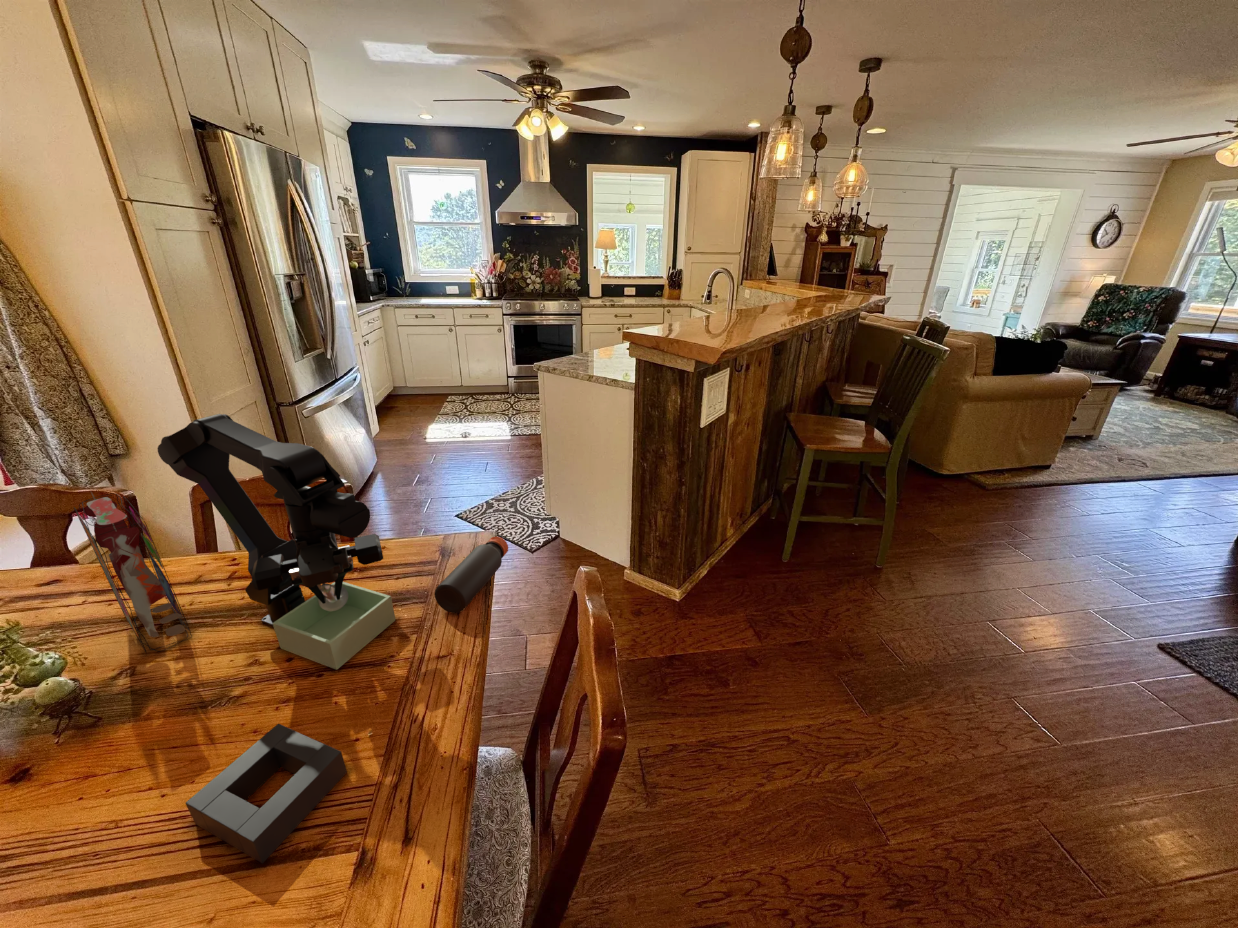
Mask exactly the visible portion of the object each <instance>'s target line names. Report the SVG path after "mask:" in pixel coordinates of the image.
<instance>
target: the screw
mask: <svg viewBox="0 0 1238 928" xmlns="http://www.w3.org/2000/svg"><path fill="white" fill-rule="evenodd" d="M331 584H332V583H323V584H321V588H322V593H323V595H324V596H325V600H326V603H325V604H323V603H322V602H321V601H320V600H319V599H318V602H319V605H320V606H321V608H322V609H324V610H326V611H336V610H339V609H341V608H342V607H343V606H344V605H345V604H346V602H347V600H348V592H347V590H346V589H345V588H344V587H343V586H342V589H341V595H340V600H337V598H336V593H335V584H334V585H331Z"/></svg>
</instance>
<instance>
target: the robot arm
mask: <svg viewBox="0 0 1238 928" xmlns="http://www.w3.org/2000/svg"><path fill="white" fill-rule="evenodd" d="M157 454H158V456H159V458H160V459H161V461H162V462H163V463H165V464H166V465H168V466H169V467H170V468H171V469H172V471H173V472H174V473H175V475H177V476H179V477H181V478H184V479H186V480H188V481H190V482H193V483H195V484H197V485H198V486H199V487H200V489H201V490H202V491H203V492H204V494H205V496H206V497H207V498H208V499H209V500H210V502H211V503H212V504H213V506H214V508H215V509H216V510H217V511H218V513H219V514H220V516H221V517H222V519H223V520H224V521H225V523H226V524H227V525H228V527H229V528H230V530H231V531H232V532H233V534H234V535H235V536H236V537H237V539H238V540H239V542H240V543H241V545H242V546H243V547H244V548H245V550H246V551H247V552H248V557H247V558H248V561H247V562H248V563H247V571H248V573H249V575H250V577H251V581H250V582H249V584H248V585H247V586H246V588H245V589H244V590H245V593H246V594H247V596H248V598H249V599H250V600H251V601H253V602H257V603H259V604H262V605H264V606H265V607H266V610H267V613H268V614H267V615H265V616H264V617H262V618H261V619H260V620H261V623H262V624H266V625H269V626H271V627H273V624H272V623H274V622H275V621H277V620H278V619H280V618H281V617H283V616H284V615H286V614H287V613H289V612H290V611H292V610H293V609H295V608H296V607H298V606H299V605H301V604H302V603H304V602H305V601H306V599H305V596H304V593H303V590H302V587H301V585H302V586H304V587H305V588H307V589H308V590H309V591H311V593H313V595H315V596H316V597H317V598H318V599H319V600H320V601H321V602H322V603H323V604H325V603H326V600H325V596H324V595H323V593H322V588H321V585H322V584H323V583H326V584H331V583H334V582H335V593H336V598H337V600H340V595H341V589H342V584H343V582H344V580H345V577H346V575H347V574H348V573H350V572H353V571H354V570H355V566H354V558H356V559H357V563H358V564H361V565H363V566H366V565H370V564H373V563H379V562H381V561H382V560H384V555H383V554H384V553H383V549H382V545H381V544H382V543H381V540H380V536H379V535H378V534H376V533H371V534H366V535H361V534H363V533H364V531H366V530H367V528H368V525H369V524H370V521H371V511H370V508H369V507H368V506H367V505H366V504H365V502H362V501H358V500H356V496H355V494H353V493H349V492H348V493H347V492H344V493H343V492H340V491H338V490H340V489H342V488H345V483H344V481H343V480H342V479H341V474H340V473H338V471H337V470H336V469H335V468H334V467H333V466H332V465H331V464H330V463H329V461H328V460H327V459H326V456H324V455H323V453H321V452H320V451H319V450H318V449H316V448H315V447H312V446H310V445H306V444H302V443H299V442H280V441H276V440H275V439H272V438H270V437H268V436H266V435H264V434H262V433H259V432H257V431H255V430H253V429H251V428H250V427H247V426H245V425H243V424H241V423H238V422H236V421H234V420H233V418H232V417H231V416H230V415H228V414H225V413H222V414H221V413H217V414H213V415H209V416H205V417H200V418H197V419H193V421H191V422H189V423H188V424H187V425H186V426H185V427H184V428H181V429H179V430H177V431H176V432H174V433H172V434H169V435H165V436H163V437H162V438H161V440H160V443H159V445H158V446H157ZM230 456H232V457H233V458H236V459H238V460H240V461H242V462H244V463H246V464H247V465H248V464H249V465H250V466H252V467H254V468H256V469H257V470H259V471H261V474H262V478H263V481H264V482H266V483H267V484H269V486H272V487H273V488H274V490H276V492H275V493H274V494H273V496H274V498H276V499H278V500H283V503H284V507H285V511H286V514H287V518H288V522H289V525H290V529H291V531H292V532H291V533H292V537H293V539H290V540H286V539H284V538H281V537H278V535H277V534H276V532H274V529H272V527H271V526H270V524H269V523H268V521H267V520H266V519H265V517H264V516H263V515H262V513H261V512H260V510H259V509H258V507H257V506H256V505H255V504H254V502H253V501H252V499H251V498H250V496H249V495H248V494H247V492H246V491H245V489H244V488H243V486H242V485H241V483H239V481H238V480H237V478H236V477H235V475H234V474H233V473H232V472H231V470H230ZM323 479H324V480H325V481H322V482H320V483H318V484H315V485H314V486H312V487H311V486H310V485H312V484H314V483H317V482H319V481H321V480H323ZM336 535H337V536H340V537H341V536H342V537H344V538H345V537H346V538H349V539H353V538H354V539H353V540H354V545H351V546H350V545H349V544H347V545H343V546H339V545H338V542H337V537H336Z"/></svg>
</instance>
